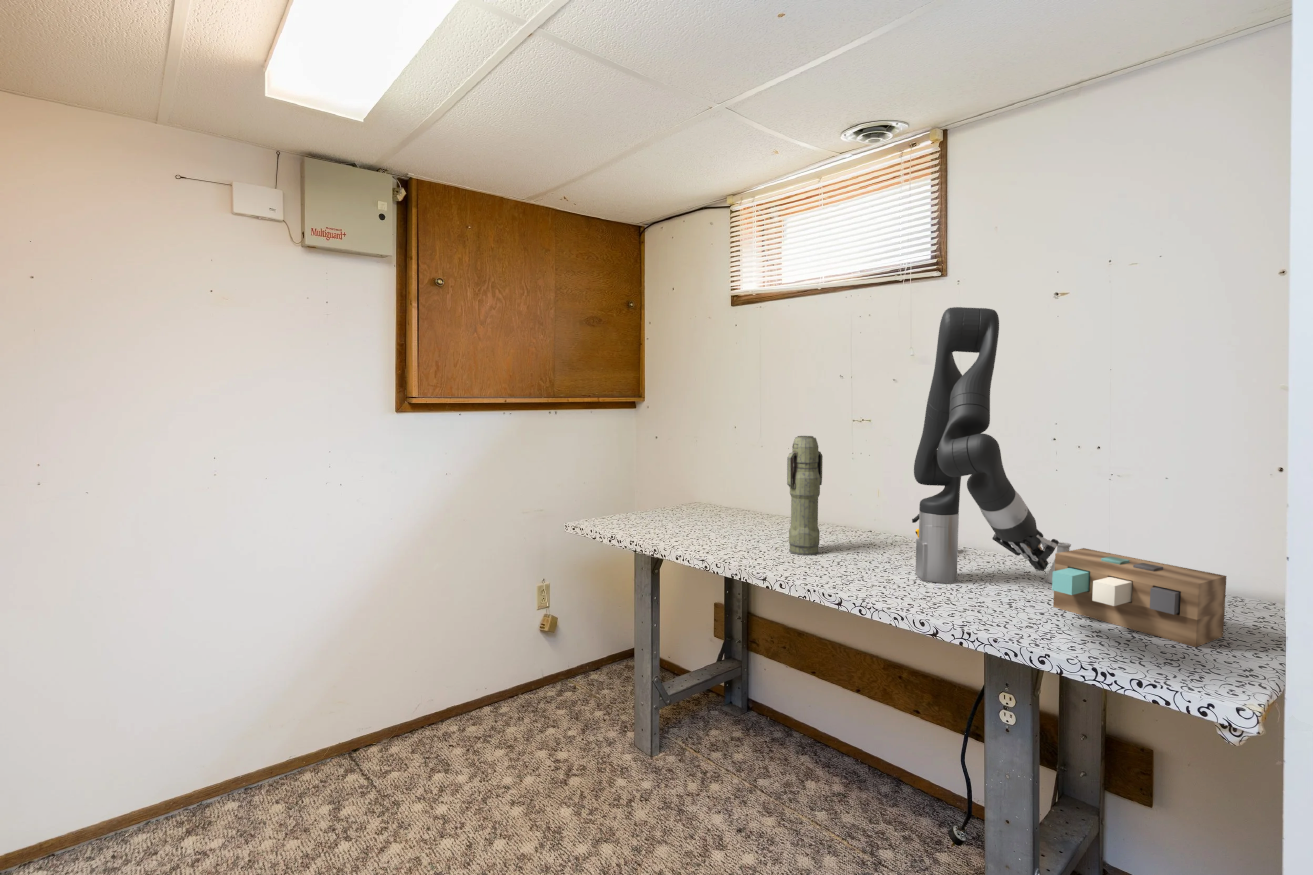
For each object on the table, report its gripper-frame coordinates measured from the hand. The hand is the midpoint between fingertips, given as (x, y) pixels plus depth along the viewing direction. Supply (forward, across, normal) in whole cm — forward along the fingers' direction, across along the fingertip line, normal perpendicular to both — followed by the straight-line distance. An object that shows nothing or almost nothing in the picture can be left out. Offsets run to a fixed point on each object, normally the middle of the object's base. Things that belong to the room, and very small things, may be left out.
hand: (1041, 567), depth 130 cm
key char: (+17, -16, -7) cm, 24 cm away
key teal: (+13, 0, -4) cm, 14 cm away
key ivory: (+13, -8, -4) cm, 16 cm away
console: (+22, -8, -5) cm, 24 cm away
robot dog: (+28, +50, -12) cm, 59 cm away
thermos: (+8, +71, +9) cm, 72 cm away
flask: (+33, +15, -16) cm, 39 cm away
